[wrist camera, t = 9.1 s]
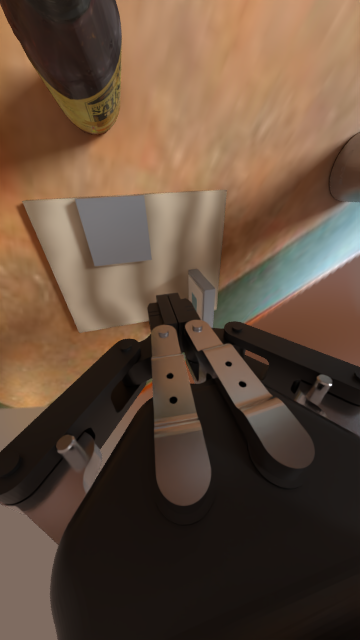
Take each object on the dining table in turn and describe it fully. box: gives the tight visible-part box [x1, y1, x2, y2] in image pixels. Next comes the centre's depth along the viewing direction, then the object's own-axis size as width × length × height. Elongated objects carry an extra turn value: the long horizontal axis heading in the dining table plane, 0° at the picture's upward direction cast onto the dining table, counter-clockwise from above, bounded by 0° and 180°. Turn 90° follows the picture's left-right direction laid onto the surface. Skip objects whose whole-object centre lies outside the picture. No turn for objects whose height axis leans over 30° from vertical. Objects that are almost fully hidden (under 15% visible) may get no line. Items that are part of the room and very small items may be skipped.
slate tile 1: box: [75, 195, 152, 266], centre depth 26 cm, size 2×8×8 cm
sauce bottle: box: [0, 0, 122, 134], centre depth 13 cm, size 7×6×20 cm
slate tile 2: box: [188, 269, 216, 328], centre depth 32 cm, size 2×8×8 cm, turn 3°
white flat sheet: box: [22, 190, 227, 333], centre depth 32 cm, size 26×20×2 cm
